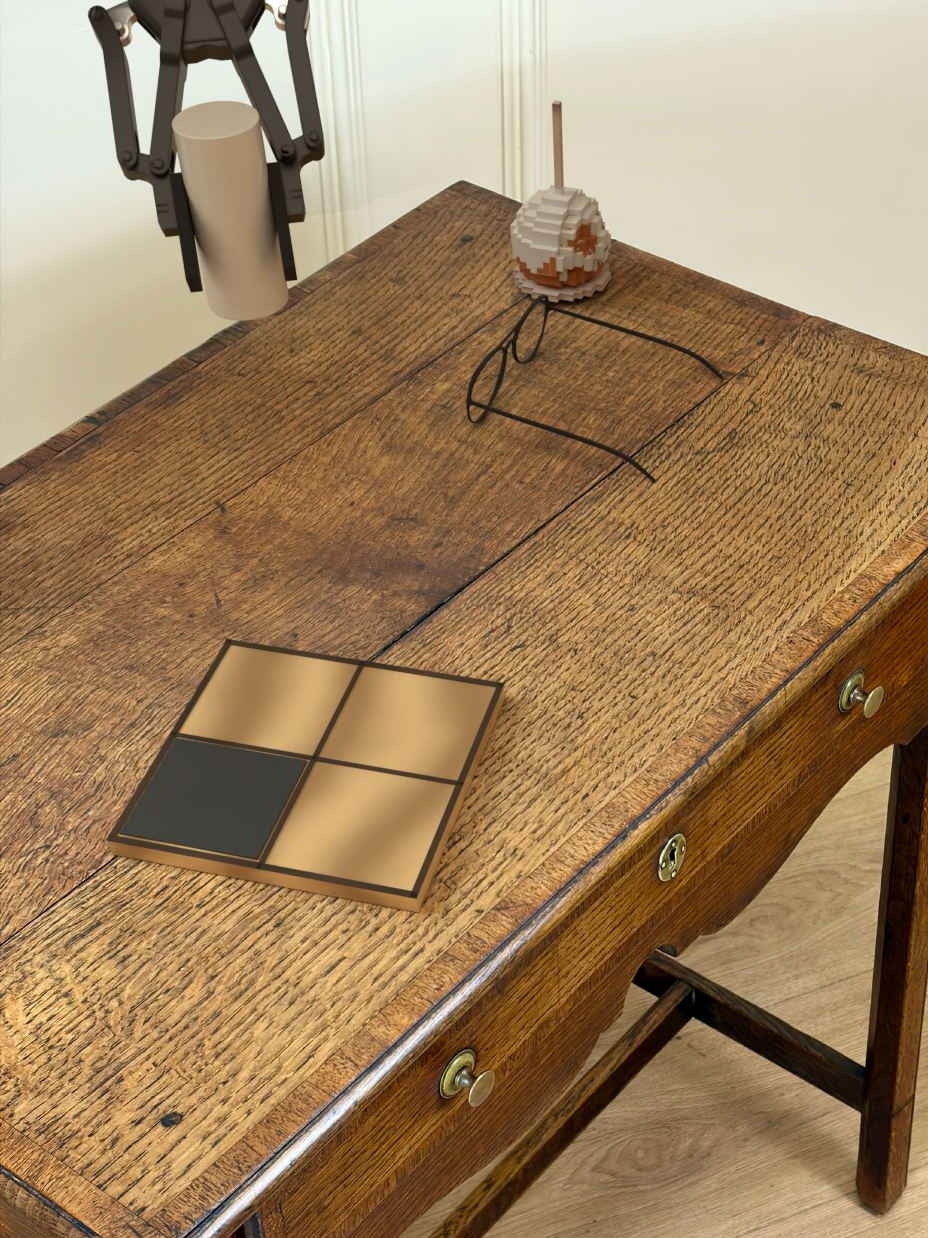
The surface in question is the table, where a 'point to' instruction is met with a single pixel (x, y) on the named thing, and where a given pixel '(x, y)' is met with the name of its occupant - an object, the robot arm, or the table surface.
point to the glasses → (514, 341)
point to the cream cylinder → (231, 208)
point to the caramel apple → (560, 237)
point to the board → (313, 774)
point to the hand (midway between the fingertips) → (242, 279)
